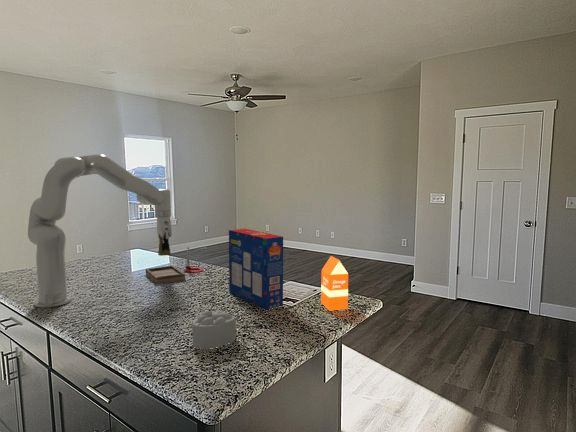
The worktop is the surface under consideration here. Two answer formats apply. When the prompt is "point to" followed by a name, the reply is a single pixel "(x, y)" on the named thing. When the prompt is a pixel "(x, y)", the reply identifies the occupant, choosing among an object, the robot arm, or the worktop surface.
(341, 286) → the orange juice
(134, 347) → the worktop surface
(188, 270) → the tow hook
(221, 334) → the lumpy-topped squat cylinder
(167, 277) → the walnut tray
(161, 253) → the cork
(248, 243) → the pasta box
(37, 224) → the robot arm
